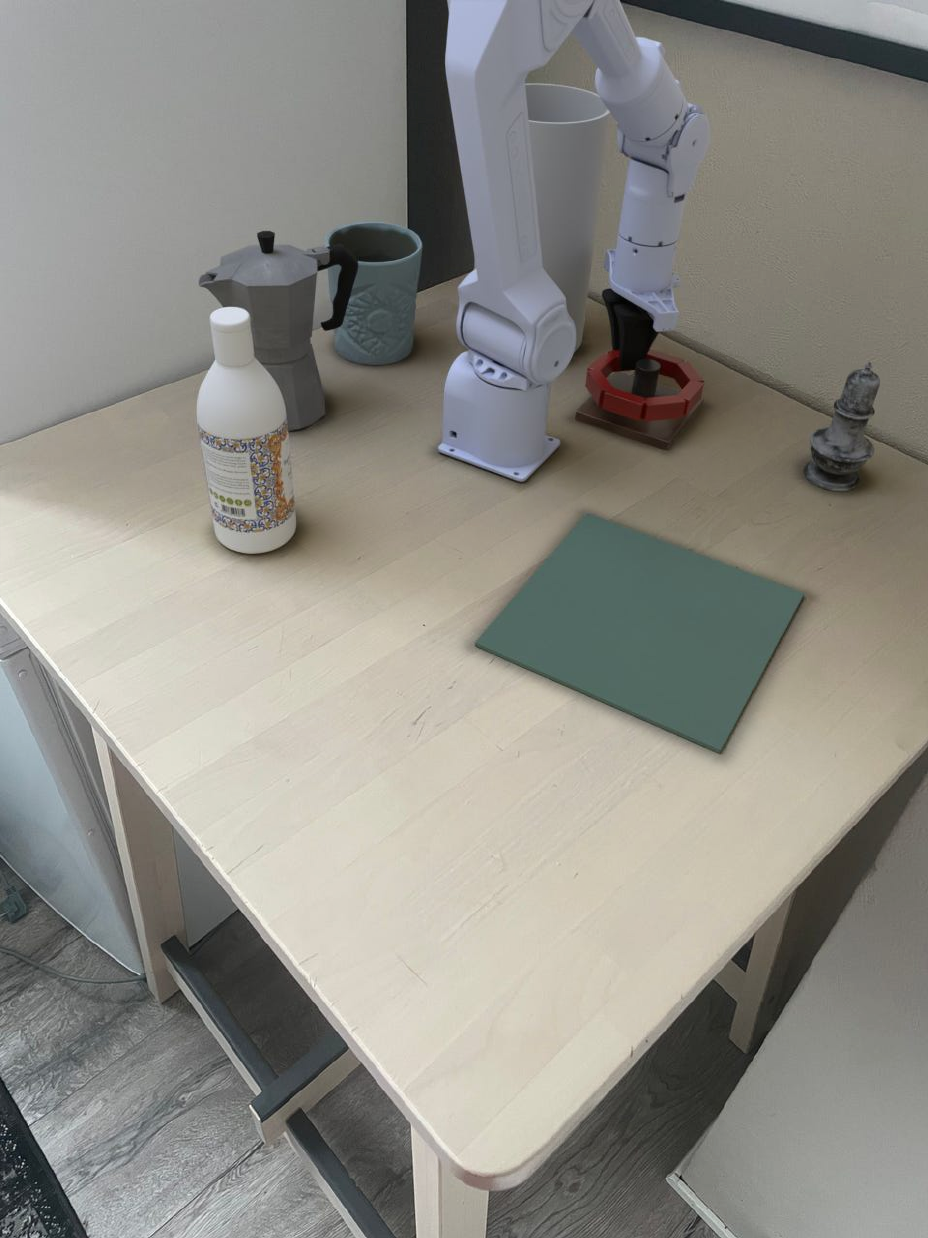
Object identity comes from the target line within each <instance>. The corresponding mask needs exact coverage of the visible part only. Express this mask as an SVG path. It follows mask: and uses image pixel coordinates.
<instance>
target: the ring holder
mask: <svg viewBox="0 0 928 1238" xmlns="http://www.w3.org/2000/svg"><path fill="white" fill-rule="evenodd" d="M659 372H660V364H659V363H658V362H657V361H654V360H651V359H641V360H639V361H637V363H636V368H635V370H634V375H632V374H629V373H625V372H624V371H621V372H613V373H612V375H610V376H609V377H608V378H607V380H608V381H609V383H610V384H611V386H612V387H613V388H615V389H618V390H622V391H625V392H628V393H631V394H634V395H637V396H640V397H643V398H651V397H661V396H671V395H678V394H679V393H680V392H681V391H682V390H680V389H677V388H674V387H670V386H667V385H664V384H662V383H661V384H660V383H658V381H659V377H660V374H659ZM704 401H705V397H702V396H701V399H700V400H699V401H698V402H697V404H696V405H695V406H694V407H693V408H692V410H691V411H690V412H689V413H688V414H687V416H685V415H683V417H682V418H674V419H664V420H654V421H644V420H643V418H641V419H640V421H638V420H635V419H632V418H629V417H626V416H623V415H620V414H617V413H614V412H611V411H608V410H605V409H602V406H598V405H597V403H596V402H595V400H594V399H593V397H592V396H591V395H590V397H589V398H588V399H587V400H586V401H585V402H584V403H583V404H582V405H581V406H580V407H579V408H578V409H577V410H576V411H575V418H574V419H575V420H576V421H578V422H580V423H585V424H587V425H591V426H593V427H596V428H599V429H602V430H604V431H608V432H611V433H614V434H617V435H620V436H623V437H626V438H629V439H632V440H635V441H638V442H641V443H643V444H646V445H648V446H649V445H650V446H653V447H655V448H658V449H662V450H665V451H667V450H668V449H669V448H670V446H671V445H672V444H673V443H674V441H676V440H677V438H678V437H679V435H680V434H681V433H682V432H683V431H684V430H685V428H687V426H688V425H689V423H690V422H691V421H692V420H693V419H694V417H695V416H696V415H697V414H698V412H699V411H700V410H701V409H702V408H703V406H704Z"/></svg>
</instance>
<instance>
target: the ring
mask: <svg viewBox="0 0 928 1238" xmlns="http://www.w3.org/2000/svg"><path fill="white" fill-rule="evenodd" d="M645 359H651V360H654V361H657V362H658V363H659V364H660V372H659V376H663V377H666V378H669V379H673V380H674V382H675V383H676V384H677V385H678V387H679V388H680V389H681V390H680V391H681V392H680V393H679V394H678V395H671V396H661V397H651V398H643V397H640V396H637V395H634V394H631V393H628V392H625V391H622V390H618V389H615V388H613V387H612V386H611V384H610V383H609V381H608V378H609V377H610V376H611V374H613V373H615V372H624V371H623V370H622V369H621V368H620V362H619V350H612V349H611V350H607V352H602V353H601V354H600V355H599V356H598V358H596V359H595V361H593V362H592V363H591V364H590V365H589V366H588V367H587V368H586V369H587V370H586V377H585V386H584V387H585V388H586V390H587V391H588V393H589V395H590V397H591V396H592V397H593V399H594V400H595V402H596V403H597V405H598V406H602V409H605V410H608V411H611V412H614V413H617V414H620V415H623V416H626V417H629V418H632V419H635V420H638V421H640V419H641V418H643V420H644V421H654V420H664V419H674V418H682V417H683V415H685V416H687V414H688V413H689V412H690V411H691V410H692V408H693V407H694V406H695V405H696V404H697V402H698V401H699V400H700V399H701V397H702V395H703V390H704V386H705V380H704V379H703V377H702V376H701V375H700V374H699V373H698V371H697V370H696V369H695V367H693V365H692V364H691V363H690V362H689V361H688V360H687V361H685V358H682V357H679V356H675V355H672V354H669V353H666V352H662V351H660V350H656V349H652V348H650V349H649V352H648V354H647V356H646V358H645ZM629 371H630V372H632V371H633V370H626V371H625V372H629Z"/></svg>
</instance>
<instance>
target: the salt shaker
mask: <svg viewBox="0 0 928 1238" xmlns="http://www.w3.org/2000/svg"><path fill="white" fill-rule="evenodd" d="M871 369H873V364H872V363H871V361H868V362H867V363H866V364H864V368H859V369H854V370H852V371H851V372H849V374H848V375H847V377H846V380H845V383H844V385H843V389H842V392H841V395H840V398H839V399H837V400H835V401H834V403H833V408H834V414H833V417H832V420H831V423H830V424H829V426H825V427H820V428H818V429H816V430H814V431H813V432H812V433H811V435H810V437H809V442H810V454H811V457H812V460H810V461H808V462H806V464H805V465H804V467H803V471H802V472H803V475H804V477H805V478H806V480H807V481H809V482H810V483H811V484H812V485H814V486H816V487H818V488H821V489H824V490H827V491H831V492H848V491H852V490H855V488H858V486H859V485H860V482H861V477H860V474H859V473H858V472H857V471H859V470H860V469H862V468H863V466H865V465H866V463H867V462H868V460H870V459H871V458H872V457H873V456H874V453H875V447H874V444H873V442H871V440H870V439H869V438H868V437H866V435H865V431H866V428H867V426H868V422H869V419H871V418H873V417H874V415H875V408H874V407H873V405H874V403H875V400H876V397H877V394H878V391H879V388H880V387H881V379H880V377H879V375H878V374H877V373H876V372H875V371H873V370H871Z"/></svg>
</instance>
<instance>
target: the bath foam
mask: <svg viewBox="0 0 928 1238" xmlns="http://www.w3.org/2000/svg"><path fill="white" fill-rule="evenodd" d="M209 326H210V332H211V340H212V346H213V353H214V358H215V359H214V361H213V363H212V365H211V366H210V367H209V369H208V372H207V373H206V375H205V376H204V379H203V380H202V383H201V385H200V388H199V391H198V394H197V400H196V421H197V422H196V424H197V425H196V426H197V429H198V430H197V432H198V437H199V443H200V449H201V456H202V463H203V467H204V468H203V469H204V474H205V475H204V476H205V481H206V488H207V492H208V500H209V507H210V512H211V517H212V522H213V523H212V524H213V529H214V534H215V537H216V538H217V540H218V541H219V542H220V543H221V544H222V545H223V546H224V547H225V548H227V549H229V550H232V551H233V552H237V553H242V554H250V555H251V554H252V555H253V554H255V555H256V554H265V553H268V552H272V551H275V550H277V549H279V548H281V547H283V546H284V545H286V544H287V543H288V541H290V540H291V539H292V537H293V536H294V534H295V532H296V528H297V515H296V503H295V492H294V480H293V469H292V459H291V458H292V457H291V446H290V436H289V431H288V423H287V412H286V408H285V403H284V400H283V396H282V394H281V391H280V389H279V387H278V385H277V384H276V382H275V380H274V379H273V378H272V376H271V375H270V374H269V373H268V371H267V370H266V369H265V368H264V367H263V366H262V365H261V364H260V362H259V361H258V360H257V359H256V358H255V357H254V348H253V339H252V332H251V325H250V315H249V313H248V312H247V311H246V310H244V309H242V308H238V307H220V308H217V309H215V310H214V311H212V312H211V314H210V315H209Z"/></svg>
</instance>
